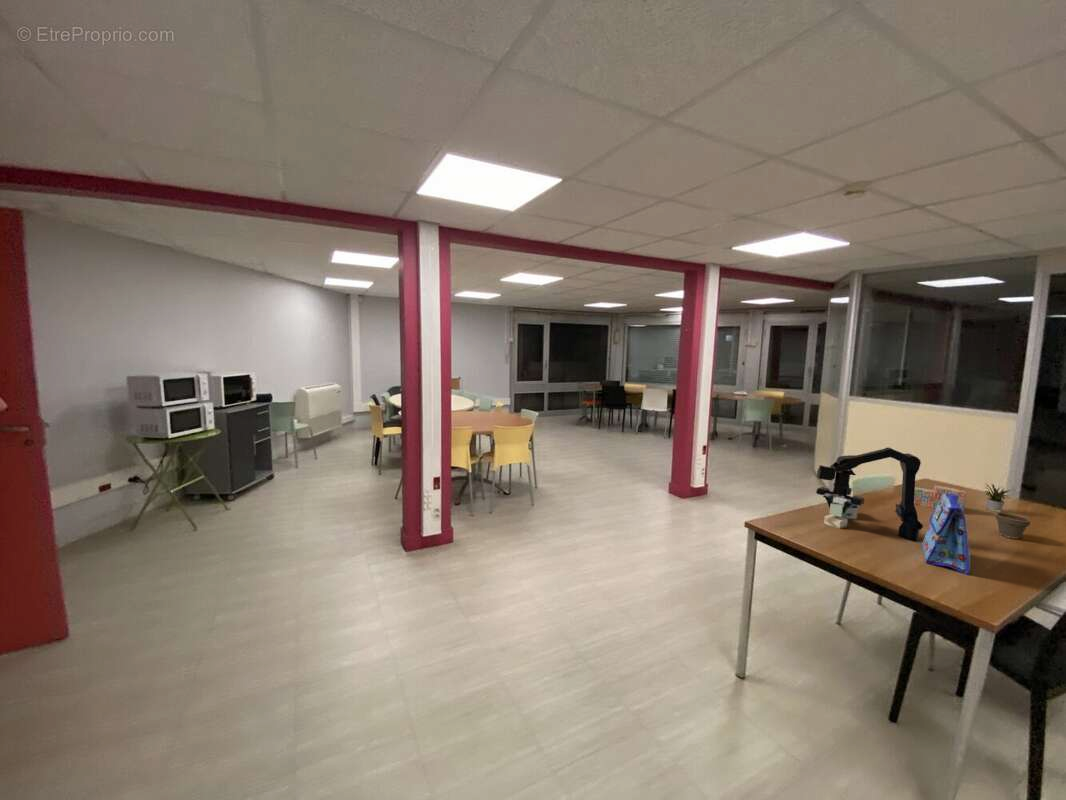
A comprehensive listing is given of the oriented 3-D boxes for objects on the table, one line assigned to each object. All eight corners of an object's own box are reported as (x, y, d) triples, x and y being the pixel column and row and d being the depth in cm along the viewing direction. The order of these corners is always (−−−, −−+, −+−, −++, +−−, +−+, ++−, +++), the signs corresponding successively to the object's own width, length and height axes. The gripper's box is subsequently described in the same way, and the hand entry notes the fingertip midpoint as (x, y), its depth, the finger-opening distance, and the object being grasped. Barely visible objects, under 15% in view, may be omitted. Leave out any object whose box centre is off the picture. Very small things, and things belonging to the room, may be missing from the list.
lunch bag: (920, 546, 192) (931, 484, 188) (962, 556, 184) (975, 492, 180) (924, 563, 176) (936, 496, 172) (970, 576, 167) (984, 506, 163)
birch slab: (846, 526, 210) (847, 519, 210) (839, 529, 207) (840, 521, 206) (831, 521, 216) (832, 514, 216) (823, 523, 213) (824, 516, 212)
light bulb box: (857, 519, 220) (860, 499, 219) (844, 518, 220) (847, 498, 219) (842, 511, 231) (845, 492, 230) (830, 510, 231) (832, 491, 230)
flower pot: (987, 529, 216) (991, 510, 215) (1019, 535, 210) (1024, 515, 209) (997, 537, 206) (1001, 517, 205) (1031, 544, 200) (1035, 523, 199)
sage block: (844, 514, 210) (846, 505, 210) (840, 517, 207) (842, 507, 207) (833, 511, 214) (834, 502, 214) (829, 513, 211) (830, 503, 211)
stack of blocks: (912, 504, 248) (916, 484, 247) (910, 501, 254) (914, 481, 252) (962, 514, 237) (967, 492, 235) (959, 510, 242) (963, 490, 240)
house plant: (966, 505, 250) (972, 479, 248) (981, 504, 254) (986, 478, 252) (999, 515, 237) (1004, 487, 234) (1014, 513, 241) (1020, 486, 239)
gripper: (870, 485, 206) (865, 515, 208) (826, 474, 221) (822, 503, 223) (862, 488, 199) (857, 520, 201) (817, 477, 214) (813, 507, 216)
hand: (837, 512), depth 211 cm, fingers closed on sage block, 5 cm apart
